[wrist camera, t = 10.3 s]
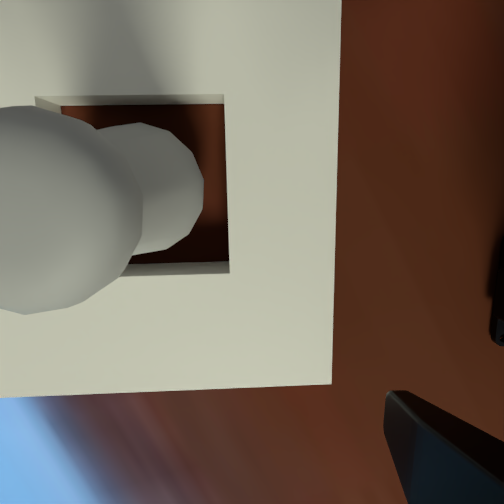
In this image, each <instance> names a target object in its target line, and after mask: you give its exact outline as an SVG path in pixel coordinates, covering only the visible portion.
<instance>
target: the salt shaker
mask: <svg viewBox="0 0 504 504" xmlns="http://www.w3.org/2000/svg"><path fill="white" fill-rule="evenodd" d="M203 189H204V179H203V177H202V174H201V172H200V170H199V167H198V165H197V163H196V160H195V158H194V155H193V153H192V152H191V151H190V150H189V149H188V148H187V147H186V146H185V145H184V144H183V143H182V142H180V141H179V140H178V139H177V138H176V137H175V136H174V135H173V134H172V133H171V132H170V131H167V130H163V129H160V128H157V127H154V126H150V125H147V124H144V123H141V122H140V123H133V124H126V125H119V126H112V127H107V128H103V129H99V130H96V129H95V128H94V127H93V126H92V125H90V124H88V123H86V122H84V121H82V120H79V119H76V118H72V117H69V116H66V115H62V114H59V113H56V112H52V111H49V110H46V109H42V108H39V107H36V106H32V105H28V106H10V107H3V108H0V309H4V310H7V311H11V312H15V313H19V314H22V315H28V314H34V313H40V312H46V311H52V310H57V309H63V308H69V307H71V306H74V305H76V304H79V303H81V302H84V301H85V300H87V299H88V298H89V297H91V296H92V295H94V294H95V293H97V292H98V291H100V290H101V289H103V288H104V287H106V286H107V285H109V284H110V283H111V282H113V281H114V280H116V279H117V278H118V277H119V276H120V275H121V274H122V272H123V271H124V270H125V268H126V266H127V264H128V262H129V260H130V258H131V256H132V255H137V254H143V253H148V252H154V251H160V250H166V249H168V248H169V247H171V246H172V245H174V244H175V243H177V242H178V241H179V240H181V239H182V238H184V237H185V236H187V235H188V234H189V233H190V231H191V230H192V228H193V226H194V224H195V222H196V220H197V218H198V217H199V215H200V213H201V211H202V209H203Z"/></svg>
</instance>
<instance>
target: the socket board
mask: <svg viewBox="0 0 504 504" xmlns="http://www.w3.org/2000/svg"><path fill="white" fill-rule="evenodd" d="M340 38H341V0H0V108H3V107H10V106H28V105H32V106H36V107H39V108H42V109H46V110H49V111H52V112H56V113H59V114H61V107H60V106H79V105H159V104H224V108H225V140H226V171H227V202H228V234H229V261H224V262H189V263H154V264H127V266H126V268H125V270H124V271H123V272H122V274H121V275H120V276H119V277H118V278H117V279H116V280H114V281H113V282H111V283H110V284H109V285H107V286H106V287H104V288H103V289H101V290H100V291H98V292H97V293H95V294H94V295H92V296H91V297H89V298H88V299H87V300H85V301H84V302H81V303H79V304H76V305H74V306H71V307H69V308H63V309H57V310H52V311H46V312H40V313H34V314H28V315H22V314H19V313H15V312H11V311H7V310H4V309H0V398H6V397H30V396H54V395H78V394H103V393H127V392H151V391H175V390H200V389H224V388H248V387H272V386H296V385H321V384H331V379H332V341H333V303H334V265H335V227H336V189H337V151H338V114H339V76H340Z"/></svg>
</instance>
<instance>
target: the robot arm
mask: <svg viewBox="0 0 504 504" xmlns="http://www.w3.org/2000/svg"><path fill="white" fill-rule="evenodd" d="M502 334H504V237H503V239H502V245H501V254H500V262H499V271H498V273H497V281H496V290H495V298H494V307H493V322H492V330H491V339H492V341H493V342H495V343H496V344H498V345H499V346H504V336H503V338H501V339H500V336H501V335H502ZM383 426H384V434H385V438H386V441H387V444H388V446H389V449H390V452H391V455H392V458H393V461H394V464H395V467H396V470H397V473H398V476H399V479H400V482H401V485H402V488H403V491H404V494H405V496H406V499H407V502H408V504H504V442H503V441H501V440H499V439H497V438H495V437H493V436H491V435H490V434H488V433H486V432H484V431H482V430H480V429H478V428H476V427H474V426H473V425H471V424H469V423H467V422H465V421H463V420H461V419H459V418H458V417H456V416H454V415H452V414H450V413H448V412H446V411H444V410H442V409H441V408H439V407H437V406H435V405H433V404H431V403H429V402H427V401H425V400H424V399H422V398H420V397H418V396H416V395H414V394H412V393H410V392H409V391H405V390H396V391H389V392H388V393H387V395H386V401H385V412H384V424H383Z"/></svg>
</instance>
